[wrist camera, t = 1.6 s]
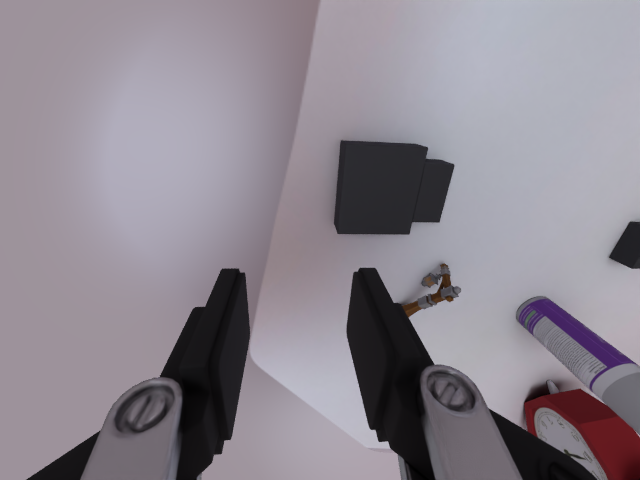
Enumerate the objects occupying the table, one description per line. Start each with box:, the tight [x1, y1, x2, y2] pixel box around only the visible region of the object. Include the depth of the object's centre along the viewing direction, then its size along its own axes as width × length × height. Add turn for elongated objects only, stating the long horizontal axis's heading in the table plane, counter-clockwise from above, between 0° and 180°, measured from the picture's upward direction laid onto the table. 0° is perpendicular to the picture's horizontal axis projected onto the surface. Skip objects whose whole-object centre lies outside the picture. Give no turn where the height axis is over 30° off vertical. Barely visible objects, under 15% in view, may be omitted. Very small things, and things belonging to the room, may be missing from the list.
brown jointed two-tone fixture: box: [402, 263, 461, 317], centre depth 31 cm, size 2×8×4 cm, turn 146°
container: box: [516, 297, 640, 435], centre depth 29 cm, size 5×5×15 cm
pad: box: [334, 141, 454, 234], centre depth 25 cm, size 8×10×2 cm
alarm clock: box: [524, 380, 640, 480], centre depth 36 cm, size 15×9×20 cm, turn 9°
